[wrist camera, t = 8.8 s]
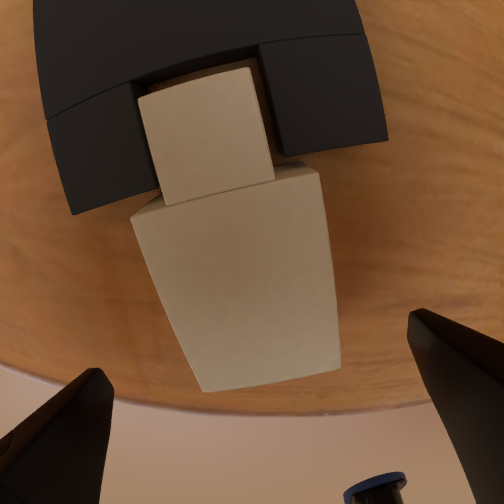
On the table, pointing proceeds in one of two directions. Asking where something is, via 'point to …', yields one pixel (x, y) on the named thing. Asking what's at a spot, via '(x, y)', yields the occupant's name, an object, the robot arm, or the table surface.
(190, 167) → the beige stepped block
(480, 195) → the table surface
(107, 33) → the socket pad
